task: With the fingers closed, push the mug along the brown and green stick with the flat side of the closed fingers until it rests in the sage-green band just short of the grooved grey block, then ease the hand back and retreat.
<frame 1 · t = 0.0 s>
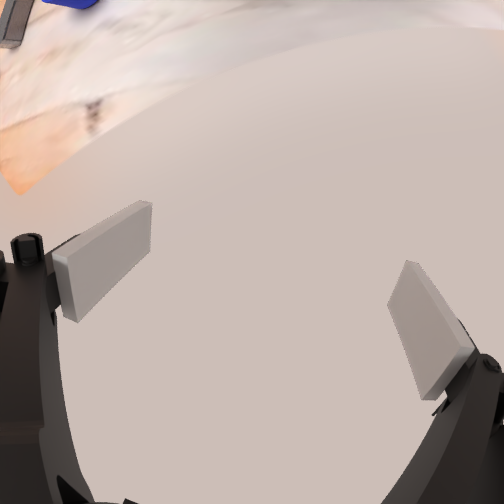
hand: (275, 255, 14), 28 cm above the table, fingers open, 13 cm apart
grooved grey block: (23, 15, 30), on the table
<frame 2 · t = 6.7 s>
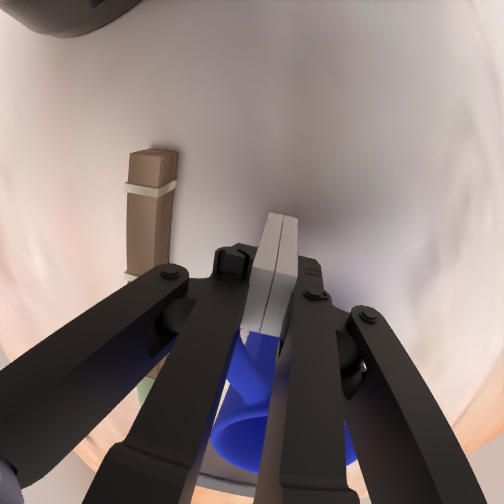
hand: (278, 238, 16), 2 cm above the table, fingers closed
mug: (287, 314, 21), on the table, touching gripper
grooved grey block: (239, 449, 30), on the table
brown and green stick: (155, 333, 23), on the table
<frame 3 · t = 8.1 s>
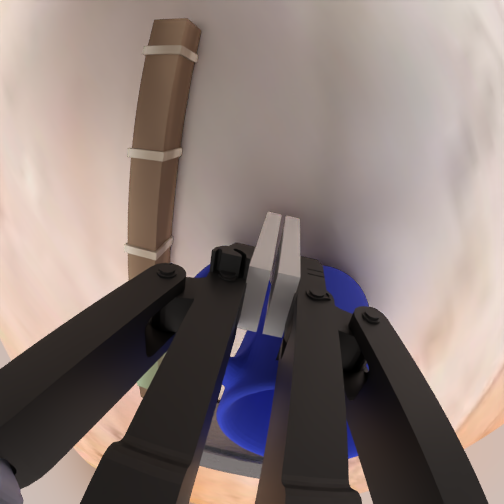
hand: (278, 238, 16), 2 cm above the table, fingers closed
mug: (294, 284, 19), on the table, touching gripper, hand
grooved grey block: (251, 420, 27), on the table
brown and green stick: (157, 249, 20), on the table
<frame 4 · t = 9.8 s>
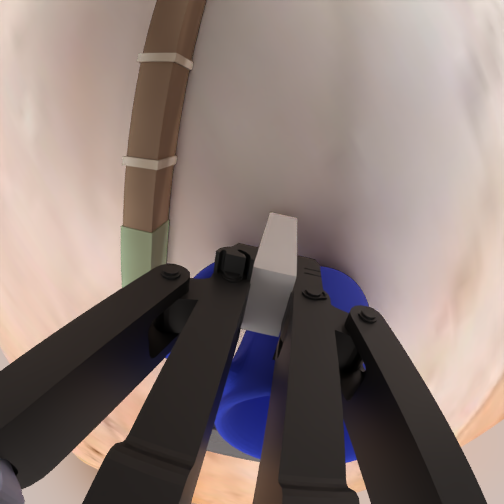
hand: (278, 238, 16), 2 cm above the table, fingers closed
mug: (293, 285, 19), on the table, touching gripper, hand
grooved grey block: (258, 395, 24), on the table
brown and green stick: (158, 172, 18), on the table
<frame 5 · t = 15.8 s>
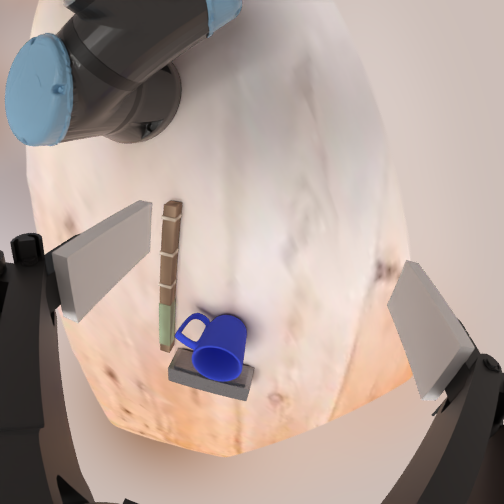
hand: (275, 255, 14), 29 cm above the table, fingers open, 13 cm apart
mug: (220, 320, 53), on the table
grooved grey block: (214, 364, 58), on the table
brown and green stick: (170, 283, 51), on the table
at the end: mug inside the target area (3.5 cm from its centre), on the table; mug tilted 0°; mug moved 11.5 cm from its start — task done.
